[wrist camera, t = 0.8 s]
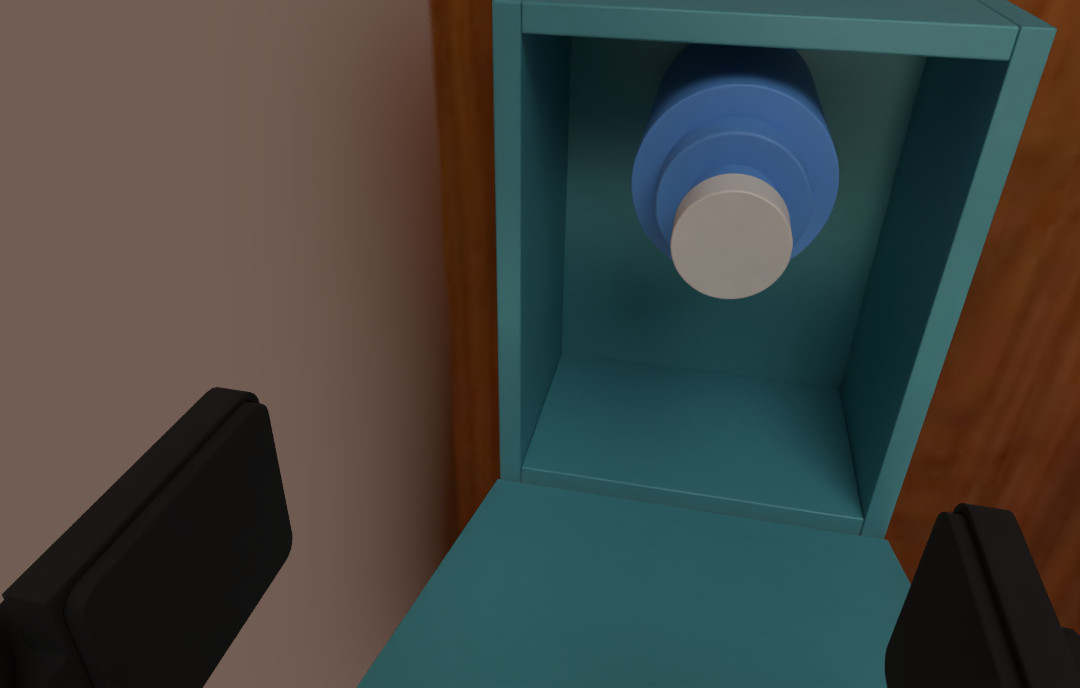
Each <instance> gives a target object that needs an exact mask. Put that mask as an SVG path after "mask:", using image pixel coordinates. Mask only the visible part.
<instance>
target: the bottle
mask: <svg viewBox="0 0 1080 688" xmlns="http://www.w3.org/2000/svg"><path fill="white" fill-rule="evenodd" d="M838 187H839V166H838V159H837V155H836V151H835V147H834V144H833V141H832V137H831V134H830V131H829V128H828V125H827V122H826V119H825V116H824V112H823V109H822V106H821V103H820V100H819V97H818V94H817V90H816V87H815V84H814V81H813V78H812V75H811V73H810V70H809V68H808V66H807V64H806V63H805V61H804V59H803V58H802V57H801V55H800V54H799V53H798V52H797V51H796V49H786V48H768V47H750V46H733V45H715V44H698V43H691V44H690V45H689V46H687V47H686V48H685V49H684V50H683V51H682V52H681V53H680V54H679V55H678V56H677V57H676V58H675V59H674V61H673V62H672V63H671V65H670V66H669V68H668V69H667V71H666V72H665V75H664V77H663V79H662V81H661V84H660V86H659V89H658V92H657V95H656V98H655V101H654V104H653V107H652V110H651V113H650V116H649V119H648V121H647V124H646V127H645V130H644V133H643V136H642V139H641V142H640V145H639V148H638V151H637V154H636V157H635V160H634V164H633V169H632V174H631V193H632V201H633V205H634V210H635V213H636V215H637V218H638V221H639V223H640V225H641V227H642V228H643V230H644V232H645V234H646V235H647V236H648V238H649V239H650V240H651V242H652V243H653V244H654V245H655V246H656V247H657V248H658V249H659V250H660V251H661V252H662V253H663V254H665V255H666V256H667V257H668V258H670V259H671V260H673V263H674V266H675V268H676V270H677V271H678V273H679V274H680V276H681V277H682V278H683V279H684V281H685V282H686V283H687V284H689V285H690V286H691V287H692V288H694V289H696V290H697V291H699V292H701V293H703V294H705V295H708V296H711V297H715V298H720V299H739V298H745V297H749V296H752V295H755V294H757V293H759V292H761V291H763V290H765V289H766V288H768V287H769V286H771V285H772V284H773V283H774V282H775V281H776V280H777V279H778V278H779V277H780V276H781V275H782V273H783V272H784V270H785V269H786V267H787V265H788V263H789V260H791V259H792V258H794V257H795V256H797V255H798V254H799V253H801V252H802V251H803V250H804V249H805V248H806V247H807V246H809V245H810V244H811V242H812V241H813V240H814V239H815V238H816V237H817V236H818V234H819V233H820V232H821V230H822V229H823V227H824V226H825V224H826V222H827V220H828V218H829V216H830V214H831V212H832V210H833V207H834V204H835V201H836V197H837V192H838Z"/></svg>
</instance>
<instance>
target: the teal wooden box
mask: <svg viewBox="0 0 1080 688" xmlns="http://www.w3.org/2000/svg"><path fill="white" fill-rule="evenodd" d="M1056 31H1057V28H1055V27H1053V26H1051V25H1050V24H1048V23H1046V22H1044V21H1042V20H1041V19H1039V18H1037V17H1035V16H1034V15H1032V14H1030V13H1028V12H1026V11H1025V10H1023V9H1021V8H1019V7H1017V6H1016V5H1014V4H1012V3H1010V2H1009V1H1007V0H493V1H492V35H493V92H494V148H495V205H496V262H497V318H498V375H499V432H500V478H501V479H502V480H507V481H513V482H522V483H526V484H532V485H539V486H545V487H551V488H558V489H564V490H571V491H577V492H583V493H590V494H596V495H603V496H609V497H615V498H622V499H628V500H635V501H641V502H647V503H654V504H660V505H666V506H673V507H679V508H686V509H692V510H698V511H705V512H711V513H718V514H724V515H730V516H737V517H743V518H749V519H756V520H762V521H769V522H775V523H781V524H788V525H794V526H801V527H807V528H813V529H820V530H826V531H833V532H839V533H845V534H852V535H860V536H864V537H871V538H877V539H884V537H885V534H886V531H887V528H888V525H889V522H890V519H891V516H892V513H893V510H894V507H895V504H896V501H897V498H898V495H899V493H900V490H901V487H902V484H903V481H904V478H905V475H906V472H907V469H908V466H909V463H910V460H911V457H912V454H913V451H914V448H915V445H916V443H917V440H918V437H919V434H920V431H921V428H922V425H923V422H924V419H925V416H926V413H927V410H928V407H929V404H930V401H931V398H932V396H933V393H934V390H935V387H936V384H937V381H938V378H939V375H940V372H941V369H942V366H943V363H944V360H945V357H946V354H947V351H948V349H949V346H950V343H951V340H952V337H953V334H954V331H955V328H956V325H957V322H958V319H959V316H960V313H961V310H962V307H963V304H964V302H965V299H966V296H967V293H968V290H969V287H970V284H971V281H972V278H973V275H974V272H975V269H976V266H977V263H978V260H979V257H980V255H981V252H982V249H983V246H984V243H985V240H986V237H987V234H988V231H989V228H990V225H991V222H992V219H993V216H994V213H995V210H996V208H997V205H998V202H999V199H1000V196H1001V193H1002V190H1003V187H1004V184H1005V181H1006V178H1007V175H1008V172H1009V169H1010V166H1011V163H1012V161H1013V158H1014V155H1015V152H1016V149H1017V146H1018V143H1019V140H1020V137H1021V134H1022V131H1023V128H1024V125H1025V122H1026V119H1027V116H1028V114H1029V111H1030V108H1031V105H1032V102H1033V99H1034V96H1035V93H1036V90H1037V87H1038V84H1039V81H1040V78H1041V75H1042V72H1043V69H1044V67H1045V64H1046V61H1047V58H1048V55H1049V52H1050V49H1051V46H1052V43H1053V40H1054V37H1055V34H1056ZM691 43H698V44H715V45H733V46H750V47H768V48H786V49H796V51H797V52H798V53H799V54H800V55H801V57H802V58H803V59H804V61H805V63H806V64H807V66H808V68H809V70H810V73H811V75H812V78H813V81H814V84H815V87H816V90H817V94H818V97H819V100H820V103H821V106H822V109H823V112H824V116H825V119H826V122H827V125H828V128H829V131H830V134H831V137H832V141H833V144H834V147H835V151H836V155H837V159H838V166H839V187H838V192H837V197H836V201H835V204H834V207H833V210H832V212H831V214H830V216H829V218H828V220H827V222H826V224H825V226H824V227H823V229H822V230H821V232H820V233H819V234H818V236H817V237H816V238H815V239H814V240H813V241H812V242H811V244H810V245H809V246H807V247H806V248H805V249H804V250H803V251H802V252H801V253H799V254H798V255H797V256H795V257H794V258H792V259H791V260H789V263H788V265H787V267H786V269H785V270H784V272H783V273H782V275H781V276H780V277H779V278H778V279H777V280H776V281H775V282H774V283H773V284H772V285H771V286H769V287H768V288H766V289H765V290H763V291H761V292H759V293H757V294H755V295H752V296H749V297H745V298H739V299H720V298H715V297H711V296H708V295H705V294H703V293H701V292H699V291H697V290H696V289H694V288H692V287H691V286H690V285H689V284H687V283H686V282H685V281H684V279H683V278H682V277H681V276H680V274H679V273H678V271H677V270H676V268H675V266H674V263H673V260H671V259H670V258H668V257H667V256H666V255H665V254H663V253H662V252H661V251H660V250H659V249H658V248H657V247H656V246H655V245H654V244H653V243H652V242H651V240H650V239H649V238H648V236H647V235H646V234H645V232H644V230H643V228H642V227H641V225H640V223H639V221H638V218H637V215H636V213H635V210H634V205H633V201H632V193H631V174H632V169H633V164H634V160H635V157H636V154H637V151H638V148H639V145H640V142H641V139H642V136H643V133H644V130H645V127H646V124H647V121H648V119H649V116H650V113H651V110H652V107H653V104H654V101H655V98H656V95H657V92H658V89H659V86H660V84H661V81H662V79H663V77H664V75H665V72H666V71H667V69H668V68H669V66H670V65H671V63H672V62H673V61H674V59H675V58H676V57H677V56H678V55H679V54H680V53H681V52H682V51H683V50H684V49H685V48H686V47H687V46H689V45H690V44H691Z"/></svg>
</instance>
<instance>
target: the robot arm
mask: <svg viewBox="0 0 1080 688" xmlns="http://www.w3.org/2000/svg"><path fill="white" fill-rule="evenodd" d="M291 546H292V531H291V526H290V520H289V515H288V510H287V505H286V500H285V495H284V490H283V484H282V479H281V474H280V469H279V464H278V459H277V453H276V448H275V443H274V438H273V433H272V428H271V423H270V417H269V413H268V410H267V407H266V406H265V405H263V404H260V403H259V400H258V398H257V396H256V395H255V394H253V393H251V392H245V391H239V390H232V389H226V388H219V387H216V388H212V389H211V390H209V391H208V392H207V393H205V394H204V395H203V396H202V397H201V398H200V399H199V400H198V401H197V402H196V403H195V404H194V406H192V407H191V408H190V410H188V411H187V412H186V413H185V414H184V415H183V416H182V417H181V418H180V419H179V420H178V421H177V422H176V423H175V424H174V425H173V426H172V427H171V428H170V429H169V430H168V431H167V432H166V433H165V434H164V435H163V436H162V437H161V438H160V439H159V440H158V441H157V442H156V443H155V444H154V445H153V446H152V447H151V448H150V449H149V450H148V451H147V452H146V453H145V454H144V455H143V456H142V457H141V458H140V459H139V460H138V461H137V462H136V463H135V464H134V465H133V466H132V467H131V468H130V469H129V470H127V471H126V472H125V473H124V474H123V476H121V477H120V479H118V480H117V481H116V482H115V483H114V484H113V485H112V486H111V487H110V488H109V489H108V490H107V491H106V492H105V493H104V494H103V495H102V496H101V497H100V498H99V499H98V500H97V501H96V502H95V503H94V504H93V505H92V506H91V507H90V508H89V509H88V510H87V511H86V512H85V513H84V514H83V515H82V516H81V517H80V518H79V519H78V520H77V521H76V522H75V523H74V524H73V525H72V526H71V527H70V528H69V529H68V530H67V531H66V532H65V533H64V534H63V535H62V536H61V537H60V538H59V539H58V540H57V541H56V542H54V544H52V545H51V546H50V547H49V548H48V549H47V550H46V551H45V552H44V554H42V555H41V556H40V558H38V559H37V560H36V561H35V562H34V563H33V564H32V565H31V566H30V567H29V568H28V569H27V570H26V571H25V572H24V573H23V574H22V575H21V576H20V577H19V578H18V579H17V580H16V581H15V582H14V583H13V584H12V585H11V586H10V587H9V588H8V589H7V590H6V591H5V592H4V593H3V594H2V596H3V598H4V601H3V602H2V603H1V604H0V688H203V686H204V685H205V683H206V682H207V680H208V679H209V677H210V676H211V674H212V672H213V671H214V669H215V668H216V666H217V665H218V663H219V662H220V660H221V659H222V657H223V656H224V654H225V653H226V651H227V650H228V648H229V647H230V645H231V644H232V642H233V640H234V639H235V637H236V636H237V634H238V633H239V631H240V630H241V628H242V627H243V625H244V624H245V622H246V621H247V619H248V618H249V616H250V615H251V613H252V612H253V610H254V609H255V607H256V605H257V604H258V602H259V601H260V599H261V598H262V596H263V595H264V593H265V592H266V590H267V589H268V587H269V586H270V584H271V582H272V581H273V580H274V578H275V576H276V575H277V573H278V572H279V570H280V569H281V567H282V566H283V564H284V563H285V561H286V559H287V558H288V556H289V553H290V550H291ZM885 678H886V684H887V688H1080V636H1079V635H1078V634H1077V633H1076V632H1075V631H1074V630H1073V629H1068V628H1063V627H1061V626H1060V623H1059V621H1058V619H1057V616H1056V614H1055V611H1054V609H1053V607H1052V604H1051V602H1050V599H1049V597H1048V594H1047V592H1046V590H1045V587H1044V585H1043V582H1042V580H1041V578H1040V575H1039V573H1038V570H1037V568H1036V566H1035V563H1034V561H1033V558H1032V556H1031V554H1030V551H1029V549H1028V546H1027V544H1026V541H1025V539H1024V537H1023V534H1022V532H1021V529H1020V527H1019V525H1018V522H1017V520H1016V518H1015V516H1014V515H1013V513H1012V512H1010V511H1009V510H1003V509H997V508H990V507H984V506H977V505H971V504H965V503H962V504H959V505H957V506H956V507H955V509H954V511H953V513H948V512H941V513H940V514H939V515H938V517H937V519H936V522H935V524H934V527H933V529H932V532H931V535H930V537H929V540H928V542H927V545H926V547H925V550H924V553H923V555H922V558H921V560H920V563H919V565H918V568H917V571H916V573H915V576H914V578H913V581H912V583H911V586H910V589H909V591H908V594H907V596H906V599H905V601H904V604H903V607H902V609H901V612H900V614H899V617H898V619H897V622H896V625H895V627H894V630H893V632H892V635H891V637H890V640H889V643H888V645H887V649H886V654H885Z"/></svg>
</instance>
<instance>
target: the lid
mask: <svg viewBox="0 0 1080 688" xmlns="http://www.w3.org/2000/svg"><path fill="white" fill-rule="evenodd" d="M910 586H911V584H910V582H909V580H908V578H907V577H906V575H905V573H904V571H903V569H902V567H901V565H900V563H899V561H898V560H897V558H896V556H895V554H894V552H893V550H892V548H891V546H890V544H889V542H888V541H887V540H884V539H877V538H871V537H864V536H858V535H852V534H845V533H839V532H833V531H826V530H820V529H813V528H807V527H801V526H794V525H788V524H781V523H775V522H769V521H762V520H756V519H749V518H743V517H737V516H730V515H724V514H718V513H711V512H705V511H698V510H692V509H686V508H679V507H673V506H666V505H660V504H654V503H647V502H641V501H635V500H628V499H622V498H615V497H609V496H603V495H596V494H590V493H583V492H577V491H571V490H564V489H558V488H551V487H545V486H539V485H532V484H526V483H520V482H513V481H507V480H500V479H498V480H497V481H496V483H495V484H494V485H493V487H492V488H491V490H490V491H489V493H488V494H487V496H486V497H485V499H484V500H483V502H482V503H481V505H480V506H479V508H478V509H477V511H476V512H475V514H474V515H473V516H472V518H471V519H470V521H469V522H468V524H467V525H466V527H465V528H464V530H463V531H462V533H461V534H460V536H459V537H458V539H457V540H456V542H455V543H454V545H453V546H452V548H451V549H450V550H449V552H448V554H447V555H446V556H445V558H444V559H443V561H442V562H441V564H440V565H439V567H438V568H437V570H436V571H435V573H434V574H433V576H432V577H431V578H430V580H429V582H428V583H427V584H426V586H425V587H424V589H423V590H422V592H421V593H420V595H419V596H418V598H417V600H416V601H415V602H414V604H413V605H412V607H411V608H410V609H409V611H408V612H407V614H406V615H405V617H404V618H403V620H402V621H401V623H400V624H399V626H398V627H397V629H396V630H395V632H394V633H393V635H392V636H391V638H390V639H389V641H388V642H387V643H386V645H385V647H384V648H383V649H382V651H381V652H380V654H379V655H378V657H377V658H376V660H375V661H374V663H373V664H372V666H371V667H370V669H369V670H368V671H367V673H366V675H365V676H364V678H363V679H362V680H361V682H360V683H359V685H358V686H357V688H887V684H886V678H885V654H886V649H887V645H888V643H889V640H890V637H891V635H892V632H893V630H894V627H895V625H896V622H897V619H898V617H899V614H900V612H901V609H902V607H903V604H904V601H905V599H906V596H907V594H908V591H909V589H910Z"/></svg>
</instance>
